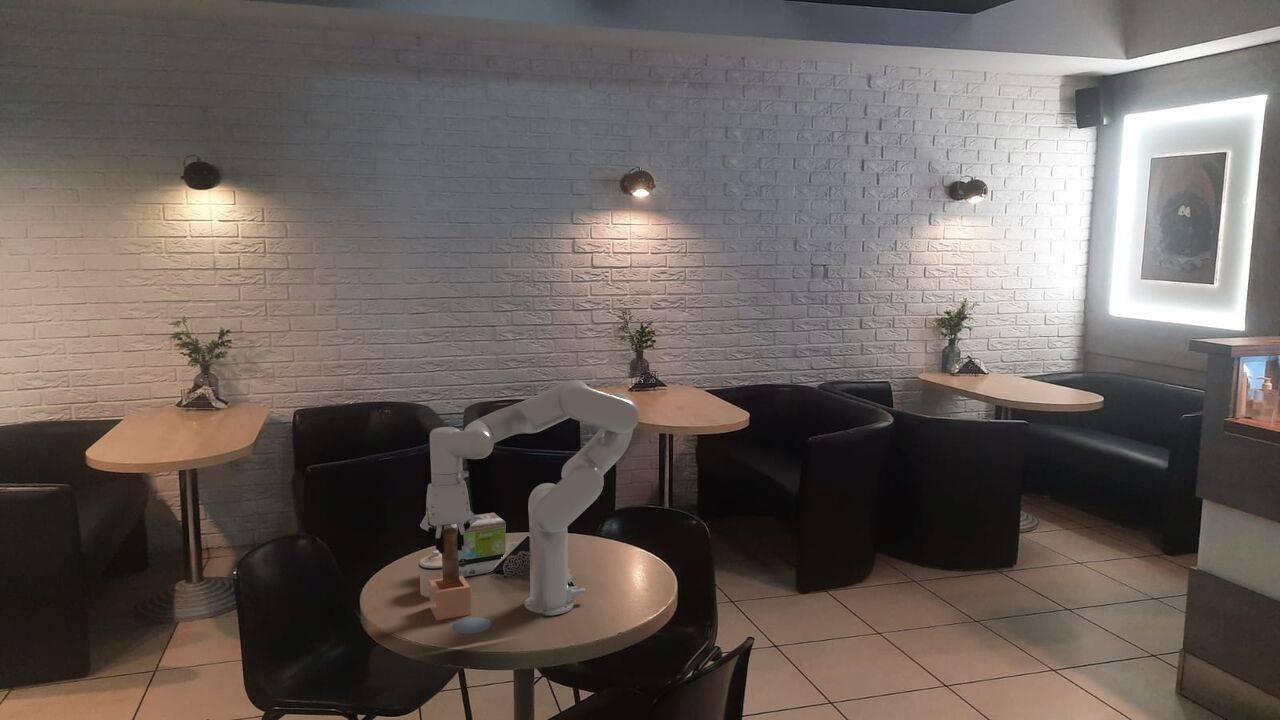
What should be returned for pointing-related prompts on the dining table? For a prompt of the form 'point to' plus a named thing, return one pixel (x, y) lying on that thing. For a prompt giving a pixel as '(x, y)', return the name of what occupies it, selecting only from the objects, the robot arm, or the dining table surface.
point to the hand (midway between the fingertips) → (449, 549)
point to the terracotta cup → (449, 598)
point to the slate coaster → (472, 625)
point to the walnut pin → (450, 556)
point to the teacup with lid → (430, 571)
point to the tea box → (482, 545)
